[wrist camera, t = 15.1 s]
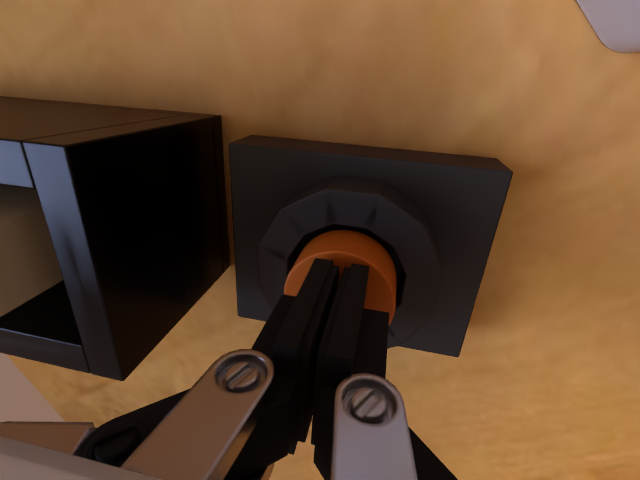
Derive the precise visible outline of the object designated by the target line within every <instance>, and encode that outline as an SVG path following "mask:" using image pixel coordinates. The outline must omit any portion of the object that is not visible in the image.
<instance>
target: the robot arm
mask: <svg viewBox="0 0 640 480" xmlns="http://www.w3.org/2000/svg"><path fill="white" fill-rule="evenodd" d="M368 274H369V266H366V265H359V264H353V263H352V264H351V268H348V267H344V269H343V272H342V275H341V279H340V282H339V285H338V276H339V266H335V265H333V260H327V259H320V258H315V259H314V261H313V263H312V265H311V267H310V269H309V272H308V274H307V276H306V278H305V280H304V282H303V284H302V286H301V288H300V290H299V292H298V294H297V296H291V295H285V294H283V295H282V296H281V297H280V299H279V301H278V302H277V304H276V306H275V308H274V309H273V311H272V313H271V315H270V316H269V318H268V320H267V322H266V324H265V325H264V327H263V329H262V331H261V332H260V334H259V336H258V338H257V340H256V341H255V343H254V345H253V347H252V348H251V349H239V350H235V351H231V352H229V353H227V354H225V355H223V356H221V357H220V358H219V359H217V360H216V361H215V362H214V363H213V364H212V365H211V366H210V367H209V369H208V370H207V371H206V372H205V373H204V374H203V375H202V376H201V377H200V379H199V380H198V381H197V382H196V383H195V384H194V385H193V386H192V388H191V389H188V390H185V391H183V392H180V393H178V394H175V395H173V396H170V397H168V398H165V399H163V400H160V401H158V402H155V403H153V404H150V405H148V406H145V407H142V408H140V409H137V410H135V411H132V412H130V413H127V414H125V415H122V416H120V417H117V418H115V419H112V420H110V421H109V422H107V423H105V424H103V425H101V426H100V427H98V428H95V427H94V424H93V422H13V421H7V422H0V480H269V478H270V476H271V473H272V470H273V467H274V462H276V461H278V460H280V459H282V458H283V457H285V456H287V455H288V453H289V454H293V455H294V452H295V449H296V445H297V442H298V441H301V442H305V441H306V437H307V434H308V430H309V426H310V423H311V419H312V415H313V420H312V435H311V444H313V445H315V451H314V463H315V465H316V467H317V468H318V470H319V471H320V473H321V475H322V476H323V478H324V480H458V479H457V478H456V477H455V476H454V475H453V474H452V473H451V472H450V471H449V470H448V469H447V467H446V466H445V465H444V464H443V463H442V462H441V461H440V460H439V459H438V458H437V457H436V456H435V455H434V453H433V452H432V451H431V450H430V449H429V448H428V447H427V446H426V445H425V444H424V443H423V442H422V441H421V439H420V438H419V437H418V436H417V435H416V434H415V433H414V432H413V431H412V430H411V429H410V428H409V426H408V423H407V417H406V411H405V406H404V402H403V399H402V396H401V394H400V392H399V391H398V390H397V388H396V387H395V386H394V385H393V384H392V383H390V382H389V381H388V380H386V379H385V375H386V359H387V342H388V326H389V312H383V311H377V310H372V309H366V308H364V304H365V297H366V289H367V282H368ZM337 287H338V288H337Z"/></svg>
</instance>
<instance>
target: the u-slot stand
mask: <svg viewBox="0 0 640 480" xmlns="http://www.w3.org/2000/svg"><path fill="white" fill-rule="evenodd" d="M576 1H577V3H578V4H579V6H580V8H581V9H582V11H583V12H584V14H585V16H586V17H587V19H588V21H589V22H590V24H591V26H592V27H593V29H594V31H595V32H596V34H597V36H598V37H599V39H600V40H601V41H602V43H603V44H604V45H605V46H606V47H608V48H609V49H611V50H613V51H616V52H621V53H632V52H640V0H576Z"/></svg>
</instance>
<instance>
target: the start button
mask: <svg viewBox="0 0 640 480" xmlns="http://www.w3.org/2000/svg"><path fill="white" fill-rule="evenodd" d="M315 258H320V259H327V260H333V265H335V266H339V276H338V285H339V282H340V279H341V275H342V272H343V269H344V267H348V268H351V264H352V263H353V264H359V265H366V266H369V274H368V282H367V289H366V297H365V304H364V308H366V309H372V310H377V311H383V312H389V325H390V323H391V321H392V319H393V317H394V313H395V307H396V269H395V266H394V263H393V260H392V258H391V257H390V255H389V253H388V252H387V251H386V249H385V248H384V247H383V246H382V245H381V244H379V243H378V242H377V241H376V240H374V239H372V238H371V237H369V236H367V235H365V234H362V233H359V232H356V231H351V230H334V231H329V232H326V233H323V234H321V235H319V236H317V237H315V238H314V239H312V240H311V241H310V242H309V243H308V244H307V245H306V246H305V247H304V249H303V250H302V252H301V254H300V255H299V257H298V259H297V260H296V262H295V264H294V266H293V267H292V269H291V271H290V272H289V274H288V276H287V279H286V282H285V286H284V294H285V295H291V296H297V294H298V292H299V290H300V288H301V286H302V284H303V282H304V280H305V278H306V276H307V274H308V272H309V269H310V267H311V265H312V263H313V261H314V259H315ZM337 288H338V287H337Z"/></svg>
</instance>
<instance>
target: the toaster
mask: <svg viewBox="0 0 640 480" xmlns="http://www.w3.org/2000/svg"><path fill="white" fill-rule="evenodd" d="M0 184H2V185H9V186H16V187H23V188H31V189H36V190H37V193H38V196H39V200H40V203H41V206H42V210H43V213H44V216H45V220H46V223H47V226H48V230H49V233H50V236H51V240H52V243H53V247H54V250H55V253H56V257H57V260H58V263H59V267H60V270H61V273H62V277H63V280H62V281H61V282H59V283H57V284H56V285H54V286H52V287H51V288H49V289H47V290H45V291H44V292H42V293H40V294H39V295H37V296H35V297H34V298H32V299H30V300H28V301H27V302H25V303H23V304H22V305H20V306H18V307H17V308H15V309H13V310H12V311H10V312H8V313H6V314H5V315H3V316H1V317H0V353H4V354H9V355H13V356H17V357H22V358H26V359H30V360H34V361H39V362H43V363H47V364H52V365H56V366H60V367H64V368H69V369H73V370H77V371H82V372H86V373H92V374H94V375H98V376H102V377H107V378H111V379H115V380H119V381H124V380H125V379H126V378H127V377H128V376H129V375H130V374H131V372H132V371H133V370H134V369H135V368H136V367H137V366H138V365H139V364H140V363H141V362H142V361H143V360H144V358H145V357H146V356H147V355H148V354H149V353H150V352H151V351H152V350H153V349H154V348H155V347H156V345H157V344H158V343H159V342H160V341H161V340H162V339H163V338H164V337H165V336H166V335H167V334H168V333H169V331H170V330H171V329H172V328H173V327H174V326H175V325H176V324H177V323H178V322H179V321H180V320H181V318H182V317H183V316H184V315H185V314H186V313H187V312H188V311H189V310H190V309H191V308H192V307H193V306H194V304H195V303H196V302H197V301H198V300H199V299H200V298H201V297H202V296H203V295H204V294H205V293H206V291H207V290H208V289H209V288H210V287H211V286H212V285H213V284H214V283H215V282H216V281H217V280H218V279H219V277H220V276H221V275H222V274H223V273H224V272H225V271H226V270H227V269H228V268H229V266H230V261H229V244H228V228H227V211H226V195H225V179H224V162H223V146H222V129H221V116H220V115H212V114H201V113H189V112H177V111H166V110H154V109H143V108H131V107H120V106H108V105H97V104H85V103H73V102H62V101H50V100H39V99H27V98H16V97H4V96H0Z"/></svg>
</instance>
